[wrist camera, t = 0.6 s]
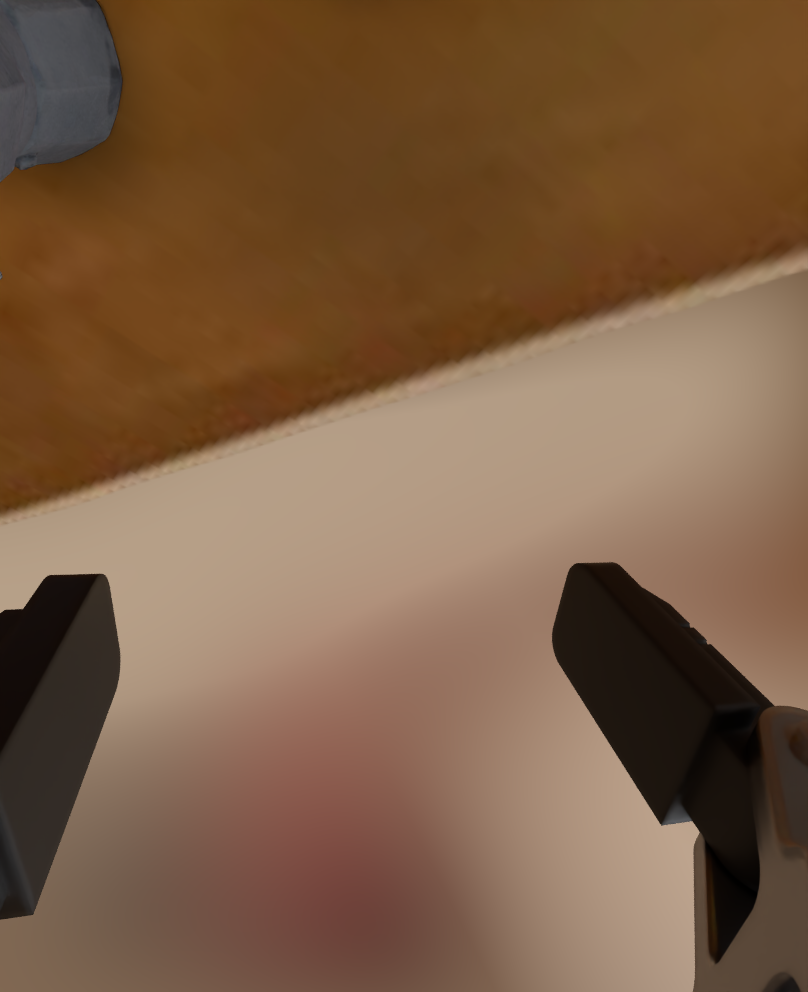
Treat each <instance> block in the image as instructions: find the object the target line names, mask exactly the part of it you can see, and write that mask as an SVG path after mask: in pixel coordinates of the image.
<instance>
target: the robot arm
mask: <svg viewBox="0 0 808 992" xmlns="http://www.w3.org/2000/svg"><path fill="white" fill-rule="evenodd" d="M706 641H707V640H706V639H705V638H704V637H703V636H702V635H701V634H700V633H699V632H698V631H697V630H696V629H695V628H690V625H689V622H687V621H686V620H685V619H684V618H683V617H682V616H681V615H680V614H679V613H678V612H677V611H676V610H675V609H674V608H673V607H672V606H671V605H670V604H669V603H667V602H665V601H663V600H662V599H660V598H658V597H657V596H655V595H654V594H652V593H651V592H649V591H647V590H646V589H644V588H642V587H641V586H640V585H639V584H638V583H637V582H636V581H635V580H634V579H633V578H632V577H631V576H630V575H628V573H627V572H626V571H625V570H624V569H623V568H622V567H621V566H620V565H618V564H616V563H613V562H611V563H610V562H609V563H576V564H574V565H573V566H572V567H571V568H570V570H569V572H568V575H567V578H566V582H565V586H564V590H563V593H562V597H561V600H560V604H559V608H558V612H557V615H556V619H555V623H554V626H553V632H552V643H553V649H554V653H555V656H556V659H557V661H558V663H559V665H560V666H561V668H562V669H563V671H564V672H565V674H566V675H567V677H568V679H569V680H570V682H571V683H572V685H573V687H574V688H575V690H576V691H577V693H578V695H579V696H580V698H581V699H582V701H583V702H584V704H585V706H586V707H587V709H588V710H589V712H590V714H591V715H592V717H593V718H594V720H595V721H596V723H597V725H598V726H599V728H600V729H601V731H602V733H603V734H604V736H605V737H606V739H607V740H608V742H609V744H610V745H611V747H612V748H613V750H614V751H615V753H616V755H617V756H618V758H619V759H620V761H621V762H622V764H623V765H624V767H625V768H626V770H627V772H628V773H629V775H630V777H631V778H632V780H633V781H634V783H635V784H636V786H637V788H638V789H639V791H640V792H641V794H642V796H643V797H644V799H645V800H646V802H647V804H648V805H649V807H650V808H651V810H652V811H653V813H654V815H655V816H656V818H657V819H658V821H659V823H660V824H661V825H668V824H675V823H682V822H689V821H693V823H694V824H695V825H696V827H697V828H698V830H699V831H700V833H699V835H698V837H697V839H696V841H695V844H694V913H695V914H694V917H695V981H694V989H693V992H808V711H807V710H803V709H800V708H795V707H790V706H774V705H773V704H772V703H771V702H770V701H769V700H768V699H767V698H766V697H765V696H764V695H763V694H762V693H761V692H760V691H759V690H757V688H755V686H753V685H752V684H751V683H750V682H749V681H748V680H747V679H746V678H745V677H744V676H743V675H742V674H741V673H740V672H739V671H738V670H737V669H736V668H735V667H734V666H733V665H732V664H731V663H730V662H729V661H728V660H727V659H726V658H725V657H724V656H723V655H721V654H720V653H719V652H718V651H717V650H716V649H715V648H714V647H713V646H712V645H711V644H709V645H708V644H707V642H706ZM119 673H120V648H119V642H118V636H117V629H116V624H115V617H114V612H113V604H112V598H111V592H110V586H109V582H108V579H107V577H106V576H105V575H104V574H78V575H49V576H47V577H46V578H45V579H44V580H43V581H42V583H41V584H40V586H39V587H38V588H37V590H36V591H35V593H34V594H33V596H32V597H31V598H30V600H29V602H28V603H27V604H26V606H25V607H24V609H15V610H4V611H3V612H1V613H0V919H8V918H14V917H21V916H28V915H33V914H34V911H35V908H36V906H37V903H38V900H39V897H40V895H41V892H42V889H43V887H44V884H45V881H46V879H47V876H48V873H49V870H50V868H51V865H52V862H53V860H54V857H55V854H56V852H57V849H58V846H59V843H60V840H61V838H62V835H63V833H64V830H65V827H66V825H67V822H68V819H69V816H70V814H71V811H72V808H73V806H74V803H75V800H76V797H77V795H78V792H79V789H80V787H81V784H82V781H83V778H84V776H85V773H86V770H87V768H88V765H89V762H90V759H91V757H92V754H93V751H94V749H95V746H96V743H97V741H98V738H99V735H100V733H101V730H102V727H103V724H104V722H105V719H106V716H107V713H108V711H109V708H110V705H111V703H112V700H113V697H114V695H115V692H116V689H117V684H118V680H119Z"/></svg>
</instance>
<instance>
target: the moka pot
mask: <svg viewBox="0 0 808 992" xmlns="http://www.w3.org/2000/svg"><path fill="white" fill-rule="evenodd" d="M121 88H122V78H121V72H120V66H119V62H118V58H117V55H116V51H115V47H114V44H113V40H112V37H111V34H110V31H109V29H108V26H107V23H106V20H105V16H104V14H103V12H102V11H101V8H100V6H99V4H98V3H97V1H96V0H0V182H1V181H2V180H3V179H4V178H5V177H6V176H8V175H9V174H10V173H11V172H12V171H13V170H14V167H17V168H19V169H20V170H25V169H28V168H30V167H33V166H35V165H38V164H48V163H59V162H63V161H65V160H68V159H70V158H73V157H75V156H78V155H80V154H82V153H84V152H86V151H88V150H90V149H92V148H93V147H95V146H96V145H98V144H99V143H101V142H103V141H105V140H106V138H107V137H108V136H109V134H110V131H111V129H112V126H113V123H114V121H115V118H116V114H117V111H118V106H119V101H120V94H121ZM1 278H2V274H1V272H0V279H1Z"/></svg>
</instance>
